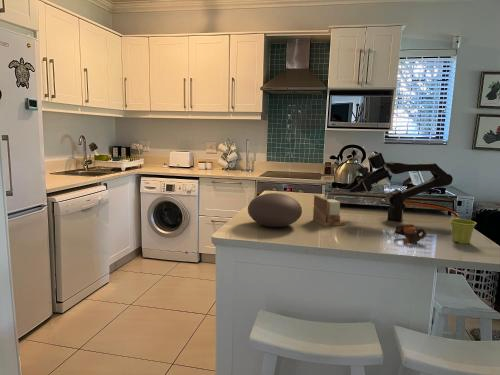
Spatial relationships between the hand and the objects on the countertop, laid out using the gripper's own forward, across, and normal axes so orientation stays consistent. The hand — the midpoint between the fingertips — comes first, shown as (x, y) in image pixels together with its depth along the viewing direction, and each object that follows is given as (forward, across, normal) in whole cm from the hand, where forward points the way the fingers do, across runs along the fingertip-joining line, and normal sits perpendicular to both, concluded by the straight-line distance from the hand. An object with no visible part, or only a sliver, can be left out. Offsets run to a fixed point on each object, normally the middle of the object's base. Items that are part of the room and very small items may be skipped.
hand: (347, 190), depth 189 cm
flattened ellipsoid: (+40, +20, -4) cm, 44 cm away
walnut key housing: (+16, +11, +8) cm, 21 cm away
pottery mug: (-9, +38, +22) cm, 44 cm away
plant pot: (-28, +35, +32) cm, 55 cm away
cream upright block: (+14, +10, +7) cm, 19 cm away
